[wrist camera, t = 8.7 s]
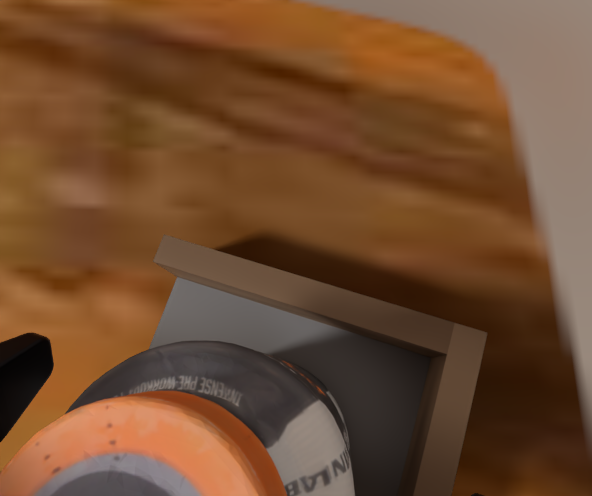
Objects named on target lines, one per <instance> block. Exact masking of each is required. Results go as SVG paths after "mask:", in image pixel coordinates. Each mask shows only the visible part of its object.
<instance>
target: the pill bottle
mask: <svg viewBox="0 0 592 496" xmlns="http://www.w3.org/2000/svg"><path fill="white" fill-rule="evenodd" d="M0 496H355V490H354V478H353V464H352V459H351V453H350V446H349V438H348V432H347V428H346V423H345V420H344V417H343V415H342V412H341V410H340V408H339V406H338V404H337V402H336V400H335V399H334V397H333V396H332V395H331V393H330V392H329V390H328V389H327V388H326V386H325V385H324V384H323V383H322V382H321V381H320V380H319V379H318V378H317V377H315V376H314V375H313V374H311V373H310V372H309V371H307V370H305V369H304V368H302V367H300V366H298V365H296V364H294V363H291V362H288V361H285V360H282V359H280V358H277V357H274V356H271V355H268V354H264V353H262V352H259V351H256V350H253V349H250V348H247V347H243V346H240V345H237V344H234V343H227V342H221V341H209V340H205V341H180V342H175V343H170V344H166V345H162V346H158V347H155V348H152V349H149V350H146V351H144V352H141V353H139V354H137V355H135V356H133V357H130V358H128V359H127V360H125V361H124V362H122V363H120V364H119V365H117V366H116V367H114V368H112V369H111V370H109V371H108V372H106V373H105V374H104V375H102V376H101V377H100V378H99V379H97V380H96V381H95V382H93V383H92V384H91V385H90V386H89V387H88V388H87V389H86V390H85V391H84V392H83V393H82V394H81V395H80V396H79V398H78V399H77V400H76V401H75V402H74V403H73V404H72V405H71V407H70V408H69V409H68V411H67V412H66V413H65V415H63V416H62V417H60V418H59V419H57V420H55V421H54V422H52V423H51V424H49V425H48V426H46V427H45V428H43V429H42V430H40V431H39V432H37V433H36V434H35V435H34V436H33V437H32V438H31V439H30V440H29V441H28V442H27V443H26V444H25V445H23V446H22V447H21V449H20V450H19V451H18V452H17V453H16V455H15V456H14V457H13V458H12V459H11V460H10V462H9V463H8V464H7V465H6V466H5V467H4V468H3V470H2V471H1V473H0Z"/></svg>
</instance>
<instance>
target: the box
mask: <svg viewBox="0 0 592 496" xmlns="http://www.w3.org/2000/svg"><path fill="white" fill-rule="evenodd" d="M153 262H155V263H156V264H158V265H159V266H161V267H162V268H164V269H166V270H167V271H169V272H170V273H172V274H174V275H175V276H177V279H176V282H175V284H174V287H173V289H172V292H171V294H170V297H169V300H168V302H167V305H166V307H165V310H164V312H163V315H162V317H161V320H160V322H159V325H158V327H157V330H156V332H155V335H154V337H153V340H152V342H151V345H150V348H149V349H152V348H155V347H158V346H162V345H166V344H170V343H175V342H180V341H205V340H209V341H221V342H227V343H234V344H237V345H240V346H243V347H247V348H250V349H253V350H256V351H259V352H262V353H264V354H268V355H271V356H274V357H277V358H280V359H282V360H285V361H288V362H291V363H294V364H296V365H298V366H300V367H302V368H304V369H305V370H307V371H309V372H310V373H311V374H313V375H314V376H315V377H317V378H318V379H319V380H320V381H321V382H322V383H323V384H324V385H325V386H326V388H327V389H328V390H329V392H330V393H331V395H332V396H333V397H334V399H335V400H336V402H337V404H338V406H339V408H340V410H341V412H342V415H343V417H344V420H345V423H346V428H347V432H348V438H349V446H350V453H351V459H352V464H353V478H354V490H355V496H451V495H452V491H453V486H454V482H455V477H456V473H457V468H458V464H459V459H460V455H461V450H462V446H463V441H464V437H465V432H466V428H467V423H468V419H469V414H470V410H471V405H472V401H473V396H474V392H475V387H476V383H477V378H478V374H479V369H480V365H481V360H482V356H483V351H484V347H485V342H486V338H487V332H484V331H480V330H477V329H474V328H470V327H467V326H464V325H461V324H457V323H454V322H451V321H447V320H444V319H441V318H437V317H434V316H431V315H428V314H424V313H421V312H418V311H414V310H411V309H408V308H405V307H401V306H398V305H395V304H391V303H388V302H385V301H381V300H378V299H375V298H372V297H368V296H365V295H362V294H358V293H355V292H352V291H348V290H345V289H342V288H339V287H335V286H332V285H329V284H325V283H322V282H319V281H316V280H312V279H309V278H306V277H302V276H299V275H296V274H292V273H289V272H286V271H283V270H279V269H276V268H273V267H269V266H266V265H263V264H260V263H256V262H253V261H250V260H246V259H243V258H240V257H236V256H233V255H230V254H227V253H223V252H220V251H217V250H213V249H210V248H207V247H204V246H200V245H197V244H194V243H190V242H187V241H184V240H180V239H177V238H174V237H171V236H167V235H164V236H163V238H162V241H161V243H160V246H159V248H158V250H157V253H156V255H155V258H154V260H153Z"/></svg>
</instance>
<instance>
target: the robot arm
mask: <svg viewBox="0 0 592 496" xmlns="http://www.w3.org/2000/svg"><path fill="white" fill-rule="evenodd" d="M53 366H54V363H53V356H52V350H51V343H50V340H49V339H48V338H47V337H44V336H42V335H39V334H36V333H26V334H23V335H20V336H18V337H15V338H12V339H9V340H7V341H4V342H1V343H0V442H1V441H2V440H3V439H4V438H5V436H6V435H7V434H8V432H9V431H10V430H11V428H12V427H13V426H14V424H15V423H16V422H17V420H18V419H19V418H20V416H21V415H22V413H23V412H24V411H25V409H26V408H27V407H28V405H29V404H30V402H31V401H32V400H33V398H34V397H35V396H36V394H37V393H38V391H39V390H40V389H41V387H42V386H43V385H44V383H45V382H46V381H47V379H48V378H49V376H50V375H51V373H52V370H53ZM471 496H483V495H481V494H478V493H474V494H472V495H471Z"/></svg>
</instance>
